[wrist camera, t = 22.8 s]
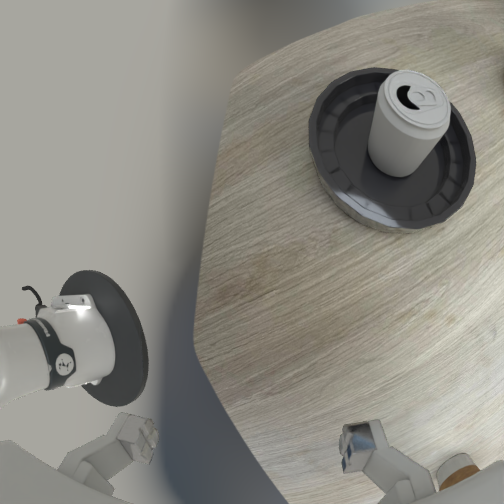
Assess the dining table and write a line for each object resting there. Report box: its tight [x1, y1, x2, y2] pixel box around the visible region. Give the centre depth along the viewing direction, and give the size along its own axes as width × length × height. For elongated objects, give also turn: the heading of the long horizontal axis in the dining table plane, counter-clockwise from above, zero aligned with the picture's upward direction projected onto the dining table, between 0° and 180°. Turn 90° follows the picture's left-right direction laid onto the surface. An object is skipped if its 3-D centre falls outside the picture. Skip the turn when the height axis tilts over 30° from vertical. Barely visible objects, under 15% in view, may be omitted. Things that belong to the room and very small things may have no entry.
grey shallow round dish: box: [309, 67, 476, 234], centre depth 24 cm, size 19×19×5 cm
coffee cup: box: [437, 454, 480, 491], centre depth 14 cm, size 8×8×15 cm
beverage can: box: [368, 70, 451, 177], centre depth 20 cm, size 6×6×12 cm
